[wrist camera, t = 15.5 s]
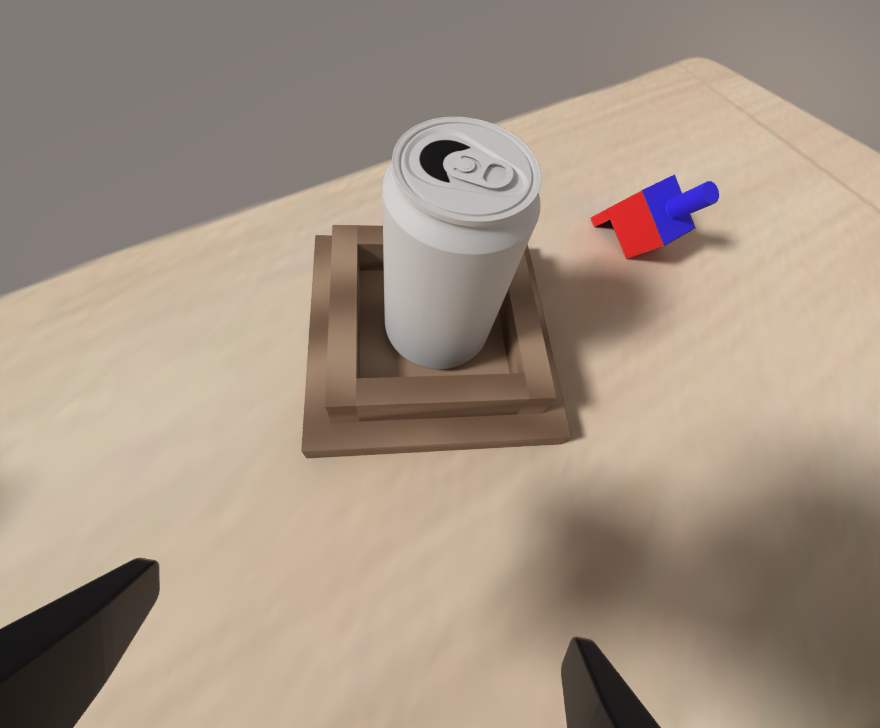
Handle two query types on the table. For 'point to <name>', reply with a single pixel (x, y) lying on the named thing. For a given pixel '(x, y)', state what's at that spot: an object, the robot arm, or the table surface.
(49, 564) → the table surface
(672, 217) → the toy building block
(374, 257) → the socket block
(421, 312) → the beverage can
